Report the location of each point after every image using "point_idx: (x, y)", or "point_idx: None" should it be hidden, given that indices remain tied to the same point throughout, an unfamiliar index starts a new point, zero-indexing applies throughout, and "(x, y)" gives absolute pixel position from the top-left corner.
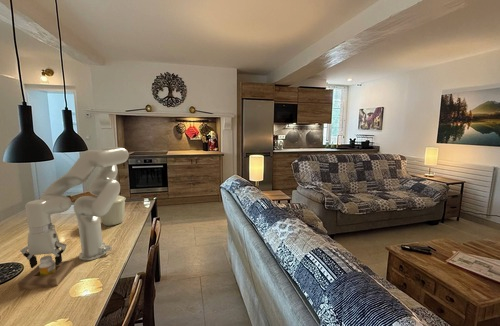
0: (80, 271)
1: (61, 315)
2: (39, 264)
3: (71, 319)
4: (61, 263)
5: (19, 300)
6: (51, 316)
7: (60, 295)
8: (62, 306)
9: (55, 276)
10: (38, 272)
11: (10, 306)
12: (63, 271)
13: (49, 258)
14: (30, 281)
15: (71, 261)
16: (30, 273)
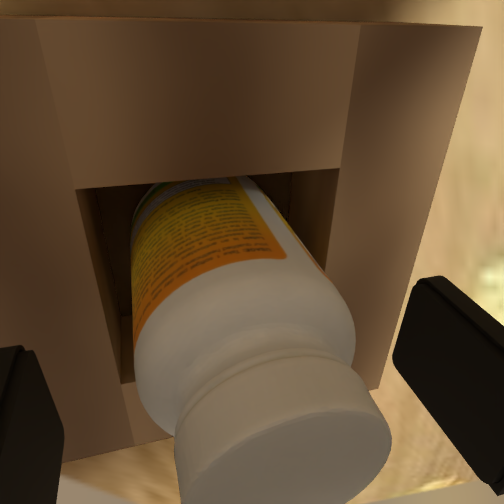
0: (475, 147)
1: (429, 474)
2: (161, 426)
3: (464, 478)
4: (326, 104)
5: (168, 455)
6: (396, 484)
7: (393, 400)
8: (422, 447)
9: (364, 370)
10: (104, 304)
11: (155, 488)
12: (400, 283)
13: (375, 473)
14: (162, 436)
15: (461, 65)
16: (3, 338)
